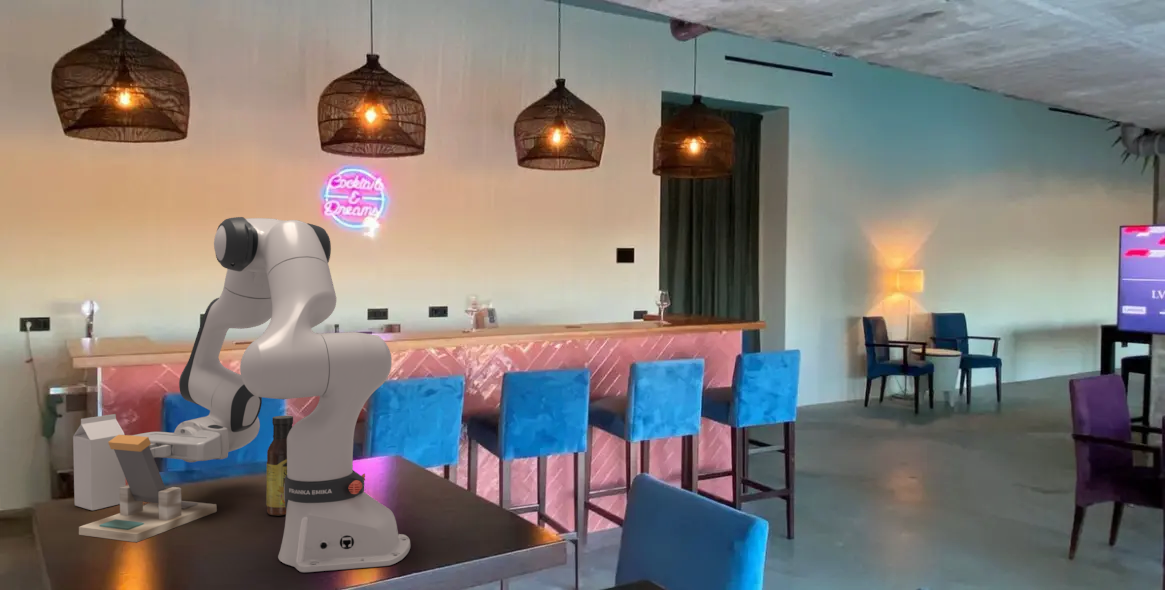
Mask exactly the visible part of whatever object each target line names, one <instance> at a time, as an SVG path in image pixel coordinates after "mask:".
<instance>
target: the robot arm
mask: <svg viewBox="0 0 1165 590" xmlns="http://www.w3.org/2000/svg"><path fill="white" fill-rule="evenodd" d="M330 239H331V238H330V236H329V234H328V233H327V231H326V229H325V228H323V227H321V226H319V225H317V224H312V223H307V222H305V221H301V220H297V219H289V220H283V219H278V218H272V217H271V218H269V217H268V218H265V217H253V218H252V217H251V218H250V217H249V218H245V217H243V216H235V217H228V218H225V219H224V220H222V222H220V223H219V225H218V227H217V230H216V233H215V236H214V241H213V247H214V248H213V249H214V252H215V258H216V260H217V262H218V263H219V264H220V265H221V267H223V268H224V269H226V274H225V278H224V285H223V289H222V292H221V294H220V296H219V297H217V298H214V299H213V300H212V301H211V302H210V303H209V304H208V306H207V307H206V310H205V312H204V314H203V317H202V320H201V322H200V324H199V327H198V332H197V335H196V338H195V341H194V343H193V346H192V350H191V353H190V355H189V358H188V361H187V362H186V365H185V366H184V368H183V370H182V372H181V374H180V376H179V382H178V388H179V393H180V395H181V397H182V398H183V399H184V400H185V401H188V402H190V403H193V404H195V405H198V406H201V407H202V408H205V409H207V410H208V411H209V413H208V415H205V416H201V417H198V418H192V419H189V420H185V421H182V422H180V423H179V424H177V426H176V428H175V429H174V432H167V431H150V432H144V433H138V434H131V435H130V436H142V437H148V438H149V440H150V443H151V444H150V445H149V447H150V450H151V452H152V455H153V458H154V459H155V458H163V459H174V460H183V461H184V462H186V463H196V462H205V461H210V460H224V459H227V458H229V457H228V456H229V452H232V451H236V450H238V449H241V448H243V447H245V446H247V445H248V444H250V443H251V442H252V441H254V440H255V439H256V438H257V437H258V434H259V431H260V428H261V427H260V426H261V424H260V419H259V414H260V411H261V408H262V404H263V403H262V401H263V398H265V399H273V400H274V399H276V400H288V399H289V400H290V399H291V400H292V399H298V398H299V399H301V398H311V397H319V398H318V400H319V401H318V403H317V405H316V407H315V408H314V409H313V411H311V413H310V414H308V415H306V416H305V417H303V418H301V419H300V420H298V421H297V422H296V423H295V424H293V425H292V428H291V430H290V431H289V433H288V436H287V475H286V476H285V484H284V501H285V507H286V508H287V509H286V515H285V522H284V528H283V529H284V530H283V535H282V540H281V544H280V548H279V549H280V550H279V552H278V555H277V558H278V560H279V562H282V563H283V564H285V565H286V566H287V565H288V566H291V567H294V568H295V569H296V570H297V571H299V572H300V573H314V572H324V571H325V572H327V571H338V570H351V569H362V568H374V567H376V568H377V567H389V566H392V565H394V564H396V563H398V562H400V561H402V560H403V559H404V558H405V557H406V556H407V555H408V554H409V552H410V549H411V540H410V538H409V536H407V535H406V534H403V533H401V534H400V533H399V531H398V525H397V520H396V517H395V515H394V513H393V511H392V510H391V509H390V508H388V507H387V506H385V505H383V504H382V503H380V502H379V501H378V500H376V499H375V498H374V497H372V496H371V495H370V494H368V493H366V492H365V481H366V478H365V477H366V473H363V474H359V473H358V472H356V471H355V470H354V469H353V468H354V467H353V466H354V465H353V463H354V462H353V460H354V457H353V455H354V453H353V452H354V437H355V430H356V429H355V428H356V424H357V421H358V418H359V416H360V413H361V412H362V409H363V408H364V406H365V405H366V402H367V401H368V400H369V398H370V397H371V396H372V394H374V392H375V391H376V390H378V389H379V388H380V387H381V386H382V385H384V383H385V382H386V380H387V379H388V377H389V376H390V373H391V370H392V353H391V351H390V348H389V346H388V345H387V342H386V341H385V340H384V339H383V338H382V337H381V336H379V335H376V334H370V333H366V332H358V331H347V332H344V331H343V332H328V333H327V332H325V333H324V332H323V333H318V332H314V331H313V328H315V327H317V326H319V325H320V324H322V323H323V322H325V320H327V319H328V318H330V316H332V314H333V313H334V311H335V309H336V305H337V295H336V291H335V287H334V283H333V278H332V273H331V271H330V266H329V262H330V259H331V251H332V247H331V245H332V243H331V240H330ZM268 321H269V324H268V326H267V327H266V328H265V331H264V332H263V333H262V334H261V335H259V337H257V338H255V340H253V341H252V342H251V343H250V344H249V345H248V346H247V347H246V349H245V351H244V352H243V354H242V357H241V361H240V365H239V371H240V373H238V372H235V371H234V370H232V369H230V368H228V367H226V366H224V364H222V363H221V361H220V359H219V356H220V353H221V350H222V348H223V345H224V341H225V338H226V335H227V333H228V331H229V329H235V330H236V329H239V330H241V329H251V328H255V327H258V326H261V325H263V324H266V322H268Z"/></svg>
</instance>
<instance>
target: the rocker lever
mask: <svg viewBox="0 0 1165 590" xmlns="http://www.w3.org/2000/svg"><path fill="white" fill-rule="evenodd" d="M108 443H109V446H110V448H111V449H114V451H115V453H116V456H117V458H118V461H119V463H120V466H121V468H122V470H123V473H124V475H125V481H126V483H127V485H129V487H130V490H131V492H132V495H133V497H134V500H135V501H143V502H146V503H159V496H158V492H159V491H162V490H165V489H167V488H166V486H165V484H164V481H163V478H162V476H161V473H160V471H159V468H158V465H157V464H156V461H155V457H154V458H153V455H152V452H151V450H150V447H149V445H150V444H151V443H150V440H149V438H148V437H142V436H131V435H129V434H126V435H117V436H116V437H114V438H113V439H112V440H110V441H109V442H108Z"/></svg>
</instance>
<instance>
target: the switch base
mask: <svg viewBox="0 0 1165 590" xmlns="http://www.w3.org/2000/svg"><path fill="white" fill-rule="evenodd" d="M158 496H159V503H152V502H148V503H145V504H144V503H143V501H135V500H134V497H133V495H132V492H131V490H130V487H129V485H128V484H126V486H123V487H120V504H119V513H116V514H114V515H110V516H107V517H105V518H104V517H103V518H101V519H98V520H96V521H92V522H89V523H86V524H83V525H81V526H78V535H79V536H86V537H95V538H100V539H109V540H117V541H124V542H131V543H138V542H141V541H144V540H146V539H149V538H151V537H154V536H156V535H159V534H162V533H164V532H167V531H169V530H172V529H174V528H178V527H180V526H183V525H186V524H188V523H191V522H194V521H196V520H198V519H201V518H203V517H206V516H209V515H211V514H214V513H216V512H217V510H218V509H217V504H216V503H208V502H207V503H206V502H200V501H199V502H197V501H188V500H182V488H181V487H176V486H172V487H168V488H166V489H165V490H162V491H159V492H158Z"/></svg>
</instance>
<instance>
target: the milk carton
mask: <svg viewBox="0 0 1165 590" xmlns="http://www.w3.org/2000/svg"><path fill="white" fill-rule="evenodd" d="M116 416H117V414H116V413H114V414H113V413H112V414H106V415H99V416H94V417H93V416H91V417H85V418H81V419H80V425H79V426H78V428H77V430H76V431H75V433H74V434H73V436H72V445H73V449H72V450H73V451H72V452H73V492H74V494H73V495H74V506H76V507H79V508H83V509H84V510H85V509H86V510H88V511H89V510H90V511H96V510H101V509H105V508H109V507H113V506H118V505H120V487H123V486H126V485H127V484H126V483H127V481H126V478H125V475H124V473H123V470H122V468H121V466H120V463H119V461H118V458H117V456H116V453H115V451H114V449H111V448H110V446H109V443H108V442H109V441H110V440H112V439H113V438H114V437H116V436H117V435H125V432H124V430H123V429H122V426H120V424H119V422H118V420H117V417H116Z"/></svg>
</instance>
